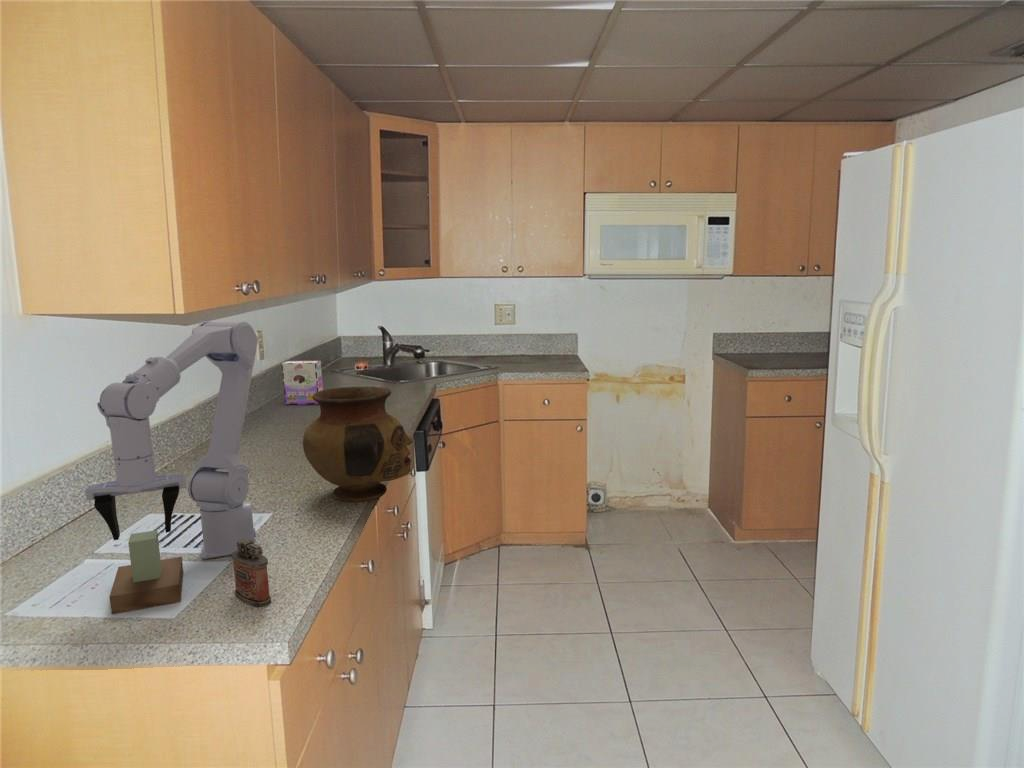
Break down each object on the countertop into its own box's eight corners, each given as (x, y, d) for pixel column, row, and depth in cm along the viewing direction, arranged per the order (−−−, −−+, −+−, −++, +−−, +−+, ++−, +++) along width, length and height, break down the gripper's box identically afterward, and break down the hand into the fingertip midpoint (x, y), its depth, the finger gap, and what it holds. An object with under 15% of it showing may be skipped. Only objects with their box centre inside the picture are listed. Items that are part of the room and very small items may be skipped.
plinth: (183, 572, 127) (181, 556, 126) (180, 601, 116) (178, 584, 115) (120, 582, 123) (118, 566, 122) (111, 614, 112) (109, 596, 112)
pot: (347, 475, 184) (343, 380, 180) (428, 484, 175) (425, 385, 171) (284, 504, 161) (277, 396, 157) (373, 516, 152) (369, 402, 148)
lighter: (230, 595, 118) (224, 539, 116) (248, 588, 120) (243, 532, 118) (257, 610, 113) (252, 551, 111) (276, 601, 115) (271, 544, 113)
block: (161, 568, 121) (157, 530, 120) (160, 577, 118) (155, 538, 117) (135, 572, 120) (130, 534, 119) (133, 582, 116) (128, 542, 115)
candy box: (324, 401, 276) (321, 360, 273) (318, 404, 270) (316, 362, 267) (290, 401, 277) (287, 360, 274) (284, 404, 272) (281, 362, 269)
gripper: (78, 467, 109) (89, 550, 111) (181, 456, 114) (189, 535, 117) (85, 456, 115) (95, 534, 118) (183, 445, 121) (190, 520, 123)
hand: (142, 534), depth 118 cm, fingers open, 7 cm apart
